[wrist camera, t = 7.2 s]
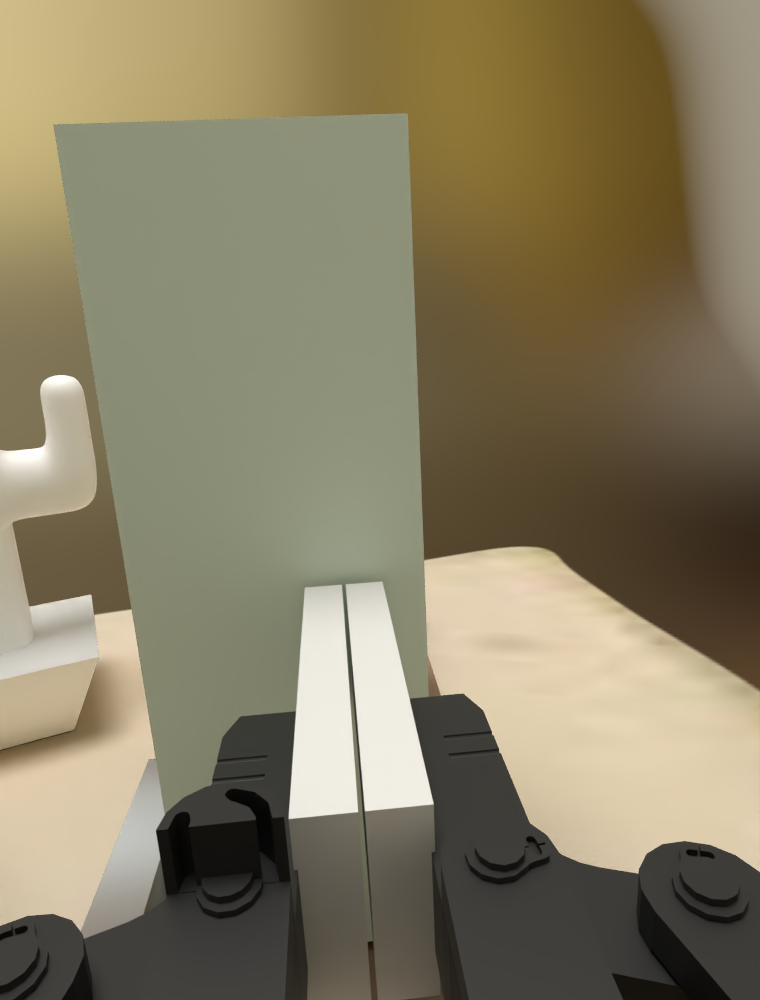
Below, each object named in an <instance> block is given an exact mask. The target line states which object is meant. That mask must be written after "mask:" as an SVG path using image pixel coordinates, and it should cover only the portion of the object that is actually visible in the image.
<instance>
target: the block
mask: <svg viewBox="0 0 760 1000" xmlns="http://www.w3.org/2000/svg"><path fill="white" fill-rule="evenodd" d="M54 131H55V137H56V143H57V150H58V155H59V162H60V168H61V174H62V181H63V187H64V193H65V199H66V205H67V211H68V218H69V224H70V230H71V236H72V243H73V249H74V255H75V261H76V267H77V274H78V280H79V286H80V292H81V298H82V305H83V311H84V317H85V322H86V329H87V335H88V342H89V348H90V354H91V360H92V366H93V373H94V379H95V385H96V391H97V397H98V404H99V410H100V416H101V422H102V428H103V434H104V441H105V447H106V453H107V459H108V465H109V472H110V478H111V484H112V490H113V497H114V502H115V509H116V515H117V521H118V528H119V534H120V540H121V546H122V552H123V558H124V564H125V571H126V576H127V583H128V589H129V595H130V601H131V608H132V614H133V620H134V627H135V633H136V639H137V645H138V651H139V658H140V664H141V670H142V676H143V682H144V689H145V695H146V701H147V707H148V713H149V720H150V726H151V732H152V738H153V744H154V750H155V757H156V763H157V769H158V775H159V781H160V788H161V794H162V800H163V806H164V812H165V814H166V812H167V811H169V810H170V809H171V808H172V807H173V806H174V805H176V804H177V803H178V802H179V801H180V800H181V799H182V798H184V797H186V796H188V795H190V794H192V793H194V792H196V791H198V790H200V789H202V788H204V787H207V786H211V784H212V778H213V774H214V770H215V766H216V764H217V757H218V753H219V749H220V745H221V741H222V737H223V736H224V735H225V733H226V732H227V731H228V730H229V729H230V728H231V727H232V725H233V724H234V723H235V722H236V721H237V720H238V718H239V717H240V716H249V715H260V714H271V713H282V712H293V711H296V706H297V692H298V677H299V663H300V649H301V635H302V621H303V606H304V592H305V588H306V587H318V586H331V585H342V593H343V607H344V621H345V635H346V649H347V663H348V677H349V691H350V705H351V718H352V732H353V746H354V760H355V774H356V788H357V802H358V816H359V831H360V845H361V859H362V873H363V887H364V901H365V915H366V929H367V942H370V941H373V934H372V922H371V910H370V897H369V885H368V872H367V860H366V848H365V835H364V823H363V810H362V798H361V785H360V773H359V761H358V748H357V736H356V723H355V711H354V698H353V684H352V669H351V655H350V640H349V626H348V611H347V597H346V584H356V583H369V582H381V581H382V582H383V586H384V590H385V595H386V599H387V603H388V608H389V612H390V617H391V621H392V625H393V630H394V634H395V638H396V643H397V647H398V651H399V656H400V660H401V664H402V669H403V673H404V677H405V682H406V686H407V690H408V695H409V699H410V698H421V697H429V687H428V659H427V632H426V604H425V577H424V551H423V523H422V498H421V497H422V496H421V468H420V441H419V413H418V385H417V360H416V359H417V358H416V332H415V303H414V276H413V248H412V221H411V194H410V168H409V167H410V166H409V140H408V114H375V115H345V116H344V115H343V116H312V117H282V118H281V117H280V118H249V119H216V120H185V121H152V122H125V123H124V122H120V123H92V124H91V123H89V124H58V125H54Z"/></svg>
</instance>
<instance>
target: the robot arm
mask: <svg viewBox="0 0 760 1000" xmlns="http://www.w3.org/2000/svg"><path fill="white" fill-rule="evenodd" d="M346 597H347V611H348V626H349V640H350V655H351V669H352V684H353V698H354V711H355V723H356V736H357V748H358V761H359V773H360V785H361V798H362V810H363V823H364V835H365V848H366V860H367V872H368V885H369V897H370V910H371V922H372V934H373V947H374V959H375V972H376V984H377V997H378V1000H404V999H413V998H421V997H429V996H437V995H440V981H441V986H442V992H443V998H444V1000H760V872H759V871H757V870H756V869H754V868H753V867H752V866H750V865H749V864H747V863H746V862H744V861H743V860H742V859H740V858H739V857H737V856H736V855H733V854H731V853H728V852H726V851H723V850H721V849H718V848H716V847H713V846H711V845H706V844H699V843H693V842H686V841H683V842H676V843H668V844H662V845H661V846H659V847H657V848H656V849H654V850H652V851H651V852H649V853H647V854H646V856H645V858H644V860H643V862H642V864H641V866H640V868H639V874H636V873H630V872H624V871H618V870H612V869H605V868H599V867H595V866H591V865H587V864H583V863H579V862H577V861H575V860H572V859H570V858H568V857H566V856H563V855H561V854H560V853H559V852H558V850H557V849H556V848H555V846H554V845H553V843H552V842H551V840H550V839H549V838H548V836H547V835H546V834H544V833H543V832H541V831H540V830H539V829H537V828H536V827H534V826H533V825H531V824H530V822H529V820H528V818H527V816H526V813H525V811H524V808H523V806H522V804H521V801H520V799H519V796H518V794H517V791H516V789H515V787H514V784H513V782H512V779H511V777H510V775H509V772H508V770H507V767H506V765H505V762H504V760H503V758H502V755H501V753H499V748H498V746H497V743H496V741H495V738H494V736H493V735H492V731H491V729H490V726H489V724H488V721H487V719H486V717H485V714H484V712H483V710H482V709H481V708H480V707H478V706H477V705H476V704H475V703H474V702H472V701H471V700H470V699H469V698H468V697H466V696H465V695H464V694H454V695H443V696H432V697H421V698H410V699H409V695H408V690H407V686H406V682H405V677H404V673H403V669H402V664H401V660H400V656H399V651H398V647H397V643H396V638H395V634H394V630H393V625H392V621H391V617H390V612H389V608H388V603H387V599H386V595H385V590H384V586H383V582H382V581H381V582H369V583H356V584H346ZM156 835H157V841H158V847H159V853H160V859H161V865H162V871H163V877H164V883H165V889H166V899H165V900H164V901H163V902H161V903H160V904H158V905H157V906H156V907H154V908H153V909H151V910H150V911H148V912H147V913H145V914H143V915H141V916H139V917H137V918H135V919H133V920H131V921H129V922H126V923H124V924H121V925H119V926H116V927H113V928H111V929H108V930H106V931H103V932H100V933H98V934H95V935H93V936H90V937H87V938H85V939H84V937H83V934H82V933H81V932H80V930H79V929H78V928H77V926H76V925H75V924H74V923H73V921H72V920H69V919H66V918H63V917H60V916H57V915H54V914H48V915H35V916H27V917H24V918H21V919H18V920H16V921H13V922H10V923H7V924H5V925H2V926H0V1000H371V986H370V972H369V958H368V944H367V929H366V915H365V901H364V887H363V873H362V859H361V845H360V831H359V816H358V802H357V788H356V774H355V760H354V746H353V732H352V718H351V705H350V691H349V677H348V663H347V649H346V635H345V621H344V607H343V593H342V585H331V586H318V587H306V588H305V592H304V606H303V621H302V635H301V649H300V663H299V677H298V692H297V706H296V711H293V712H282V713H271V714H260V715H249V716H240V717H239V718H238V720H237V721H236V722H235V723H234V724H233V725H232V727H231V728H230V729H229V730H228V731H227V732H226V733H225V735H224V736H223V737H222V741H221V745H220V749H219V753H218V757H217V764H216V766H215V770H214V774H213V778H212V784H211V786H207V787H204V788H202V789H200V790H198V791H196V792H194V793H192V794H190V795H188V796H186V797H184V798H182V799H181V800H180V801H179V802H178V803H177V804H176V805H174V806H173V807H172V808H171V809H170V810H169V811H167V812H166V814H165V815H164V817H163V819H162V821H161V822H160V824H159V826H158V827H157V829H156Z"/></svg>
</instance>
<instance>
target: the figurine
mask: <svg viewBox="0 0 760 1000" xmlns="http://www.w3.org/2000/svg"><path fill="white" fill-rule="evenodd" d="M40 392H41V402H42V408H43V414H44V420H45V427H46V442H45V444H44V446H43V447H41V448H36V449H27V450H19V451H3V450H0V750H1V749H5V748H9V747H13V746H16V745H20V744H24V743H27V742H31V741H35V740H38V739H42V738H46V737H49V736H53V735H57V734H61V733H64V732H68V731H72V730H74V729H75V726H76V723H77V720H78V718H79V715H80V712H81V709H82V706H83V703H84V700H85V697H86V694H87V691H88V688H89V685H90V682H91V679H92V676H93V673H94V671H95V668H96V665H97V662H98V659H99V651H98V644H97V636H96V628H95V620H94V613H93V605H92V597H91V595H87V596H82V597H77V598H72V599H67V600H62V601H57V602H52V603H47V604H42V605H37V606H32V607H29V604H28V599H27V594H26V590H25V585H24V580H23V575H22V570H21V565H20V560H19V556H18V551H17V546H16V541H15V536H14V531H13V526H12V522H14V521H16V520H20V519H24V518H30V517H37V516H44V515H50V514H57V513H63V512H70V511H75V510H79V509H82V508H84V507H85V506H87V505H88V504H90V502H91V501H92V500H93V498H94V496H95V493H96V486H97V485H96V484H97V478H96V477H97V476H96V475H97V474H96V465H95V457H94V451H93V445H92V438H91V432H90V426H89V421H88V415H87V408H86V403H85V397H84V392H83V389H82V387H81V385H80V383H79V382H78V381H77V380H76V379H75V378H73V377H70V376H65V375H58V376H53V377H50V378H48V379H46V380H45V381H44V382H43V383H42V386H41V391H40Z"/></svg>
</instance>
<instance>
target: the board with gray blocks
mask: <svg viewBox="0 0 760 1000" xmlns="http://www.w3.org/2000/svg"><path fill="white" fill-rule="evenodd" d="M427 659H428V687H429V697H432V696H441V695H440V692H439V689H438V686H437V683H436V680H435V677H434V674H433V671H432V668H431V664H430V661H429V658H428V655H427ZM164 815H165V812H164V806H163V800H162V794H161V788H160V781H159V775H158V769H157V763H156V759H149V761H148V763H147V766H146V768H145V771H144V773H143V776H142V778H141V781H140V783H139V786H138V788H137V791H136V793H135V796H134V799H133V801H132V804H131V806H130V809H129V811H128V814H127V816H126V819H125V821H124V824H123V826H122V829H121V831H120V834H119V836H118V839H117V841H116V844H115V847H114V849H113V852H112V854H111V857H110V859H109V862H108V864H107V867H106V869H105V872H104V874H103V877H102V879H101V882H100V884H99V887H98V889H97V892H96V895H95V897H94V900H93V902H92V905H91V907H90V910H89V912H88V915H87V917H86V920H85V922H84V925H83V927H82V930H81V933H82V934H83V937H84V939H85V938H87V937H90V936H93V935H95V934H98V933H100V932H103V931H106V930H108V929H111V928H113V927H116V926H119V925H121V924H124V923H126V922H129V921H131V920H133V919H135V918H137V917H139V916H141V915H143V914H145V913H147V912H148V911H150V910H151V909H153V908H154V907H156V906H157V905H158V904H160V903H161V902H163V901H164V900H165V899H166V889H165V883H164V877H163V871H162V865H161V859H160V853H159V847H158V841H157V835H156V829H157V827H158V826H159V824H160V822H161V821H162V819H163V817H164ZM367 944H368V958H369V972H370V986H371V1000H378V997H377V984H376V972H375V959H374V947H373V941H370V942H367ZM404 1000H444V998H443V992H442V986H441V981H440V995H437V996H429V997H421V998H413V999H404Z"/></svg>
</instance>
